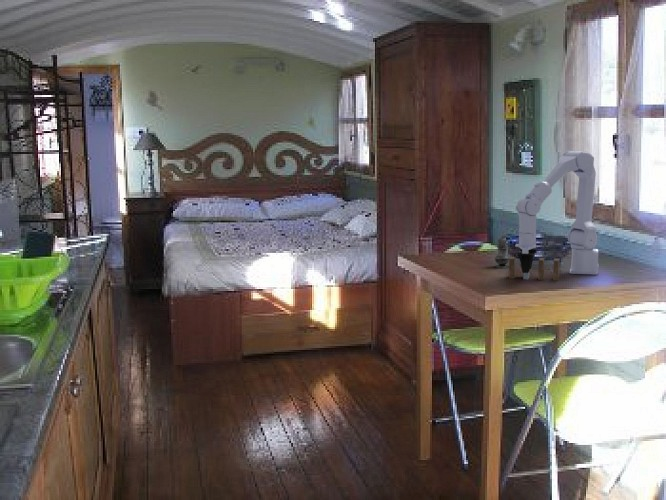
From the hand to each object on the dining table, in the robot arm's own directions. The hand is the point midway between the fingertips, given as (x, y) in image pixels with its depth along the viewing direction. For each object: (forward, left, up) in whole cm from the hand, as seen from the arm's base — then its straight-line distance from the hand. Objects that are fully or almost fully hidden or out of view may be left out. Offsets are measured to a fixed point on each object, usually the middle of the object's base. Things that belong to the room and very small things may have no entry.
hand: (526, 270), depth 271 cm
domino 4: (-10, 0, -3) cm, 10 cm away
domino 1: (+5, 0, -3) cm, 6 cm away
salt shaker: (+11, -20, -3) cm, 23 cm away
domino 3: (-5, 0, -3) cm, 6 cm away
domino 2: (0, 0, -3) cm, 3 cm away
